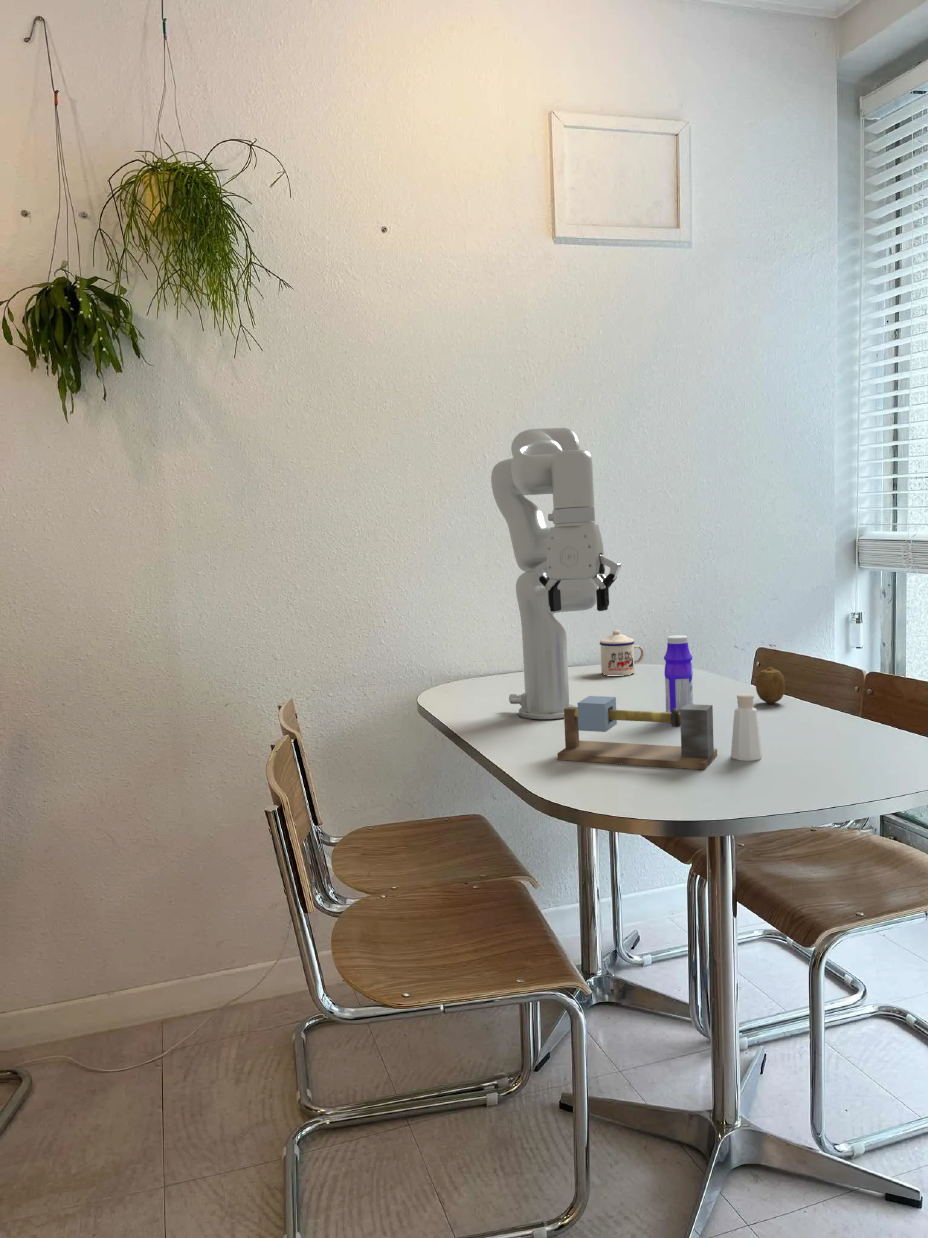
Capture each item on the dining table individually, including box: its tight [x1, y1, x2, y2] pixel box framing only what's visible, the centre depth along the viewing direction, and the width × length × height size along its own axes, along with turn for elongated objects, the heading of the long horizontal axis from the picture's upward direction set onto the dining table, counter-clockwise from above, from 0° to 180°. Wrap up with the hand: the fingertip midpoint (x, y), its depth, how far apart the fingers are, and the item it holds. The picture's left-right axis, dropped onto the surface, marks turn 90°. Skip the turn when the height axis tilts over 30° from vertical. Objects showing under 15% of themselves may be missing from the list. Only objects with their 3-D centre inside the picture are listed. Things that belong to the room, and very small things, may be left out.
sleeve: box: [577, 695, 618, 733], centre depth 174 cm, size 5×6×5 cm
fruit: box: [755, 666, 786, 705], centre depth 211 cm, size 6×6×8 cm
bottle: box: [663, 634, 694, 712], centre depth 199 cm, size 7×6×17 cm
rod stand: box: [556, 703, 718, 771], centre depth 172 cm, size 26×10×10 cm, turn 64°
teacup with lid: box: [599, 629, 645, 675], centre depth 258 cm, size 12×9×12 cm
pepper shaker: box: [730, 692, 763, 762], centre depth 168 cm, size 5×5×11 cm
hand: (578, 610), depth 181 cm, fingers open, 9 cm apart
